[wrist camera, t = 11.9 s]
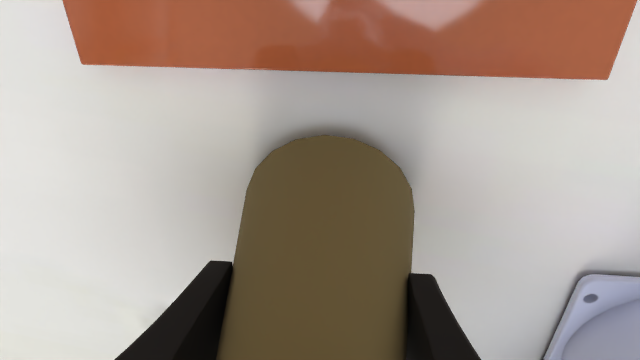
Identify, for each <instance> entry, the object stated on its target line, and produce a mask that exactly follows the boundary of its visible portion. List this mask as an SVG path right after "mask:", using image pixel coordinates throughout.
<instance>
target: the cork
mask: <svg viewBox="0 0 640 360" xmlns="http://www.w3.org/2000/svg"><path fill="white" fill-rule="evenodd" d="M414 212H415V211H414V203H413V195H412V189H411V187H410V185H409V183H408V182H407V180H406V178H405V176H404V174H403V173H402V171H401V169H400V167H398V166H397V165H396V164H395V163H394V162H393V161H392V160H390V159H389V158H388V157H387V156H386V155H385V154H384V153H382V152H381V151H380V150H378V149H376V148H374V147H371V146H369V145H367V144H365V143H362V142H360V141H358V140H355V139H352V138H345V137H337V136H329V135H321V136H314V137H308V138H302V139H296V140H294V141H292V142H290V143H288V144H286V145H284V146H282V147H280V148H278V149H276V150H274V151H272V152H271V153H270V154H269V155H268V156H267V157H266V158H265V159H264V160H263V161H262V162H261V163H260V164H259V165H258V166H257V168H256V169H255V171H254V173H253V176H252V178H251V180H250V183H249V185H248V188H247V191H246V196H245V202H244V207H243V213H242V218H241V224H240V229H239V235H238V240H237V246H236V251H235V257H234V263H233V271H232V275H231V279H230V285H229V290H228V296H227V301H226V307H225V312H224V318H223V323H222V329H221V334H220V340H219V345H218V351H217V356H216V360H406V353H407V336H408V275H409V273H411V265H412V247H413V230H414Z"/></svg>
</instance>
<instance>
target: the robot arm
mask: <svg viewBox="0 0 640 360" xmlns="http://www.w3.org/2000/svg"><path fill="white" fill-rule="evenodd" d="M232 271H233V266H232V262H226V261H210V262H209V263H207V265H206V266H205V267H204V268H203V269H202V270H201V272H200V273H199V274H198V275H197V276H196V277H195V279H194V280H193V281H192V282H191V283H190V284H189V285H188V287H187V288H186V289H185V290H184V291H183V292H182V293H181V294H180V295H179V297H178V298H177V299H176V300H175V301H174V302H173V303H172V304H171V305H170V306H169V307H168V308H167V309H166V310H165V312H164V313H163V314H162V315H161V316H160V317H159V318H158V319H157V320H156V321H155V322H154V323H153V324H152V325H151V326H150V327H149V328H148V329H147V330H146V331H145V332H144V333H143V334H142V335H141V336H140V337H139V338H137V339H136V340H135V341H134V342H133V343H132V344H131V345H130V346H129V347H128V348H127V349H126V350H125V351H124V352H122V353H121V354H120V355H119V356H118V357H117V358H116V359H115V360H216V356H217V351H218V345H219V340H220V334H221V329H222V323H223V318H224V312H225V307H226V301H227V296H228V290H229V285H230V279H231V275H232ZM589 294H590V295H589ZM586 295H587V296H586ZM406 360H481V359H480V357H479V356H478V354H477V353H476V351H475V350H474V348H473V347H472V345H471V343H470V342H469V340H468V338H467V337H466V335H465V334H464V332H463V330H462V329H461V327H460V325H459V324H458V322H457V320H456V318H455V317H454V315H453V313H452V311H451V309H450V308H449V306H448V304H447V302H446V300H445V298H444V296H443V294H442V292H441V290H440V288H439V286H438V284H437V282H436V280H435V278H434V277H433V276H432V275H431V274H417V273H409V275H408V336H407V353H406ZM543 360H640V277H632V276H616V275H600V274H591V275H587V276H584V277H583V278H581V279H580V280H579V282H578V283H577V286H576V288H575V290H574V292H573V294H572V297H571V299H570V301H569V303H568V306H567V308H566V310H565V312H564V315H563V317H562V319H561V321H560V323H559V326H558V328H557V330H556V332H555V335H554V337H553V339H552V341H551V343H550V346H549V348H548V350H547V352H546V355H545V357H544V359H543Z"/></svg>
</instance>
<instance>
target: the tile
mask: <svg viewBox="0 0 640 360" xmlns="http://www.w3.org/2000/svg"><path fill="white" fill-rule="evenodd" d="M62 1H63V4H64V7H65V11H66V14H67V17H68V21H69V24H70V28H71V31H72V34H73V38H74V41H75V44H76V48H77V51H78V54H79V58H80V61H81V63H82V64H83V65H113V66H147V67H181V68H215V69H249V70H283V71H317V72H351V73H385V74H419V75H452V76H486V77H520V78H554V79H588V80H607V79H608V78H609V75H610V72H611V70H612V67H613V64H614V62H615V59H616V56H617V54H618V51H619V48H620V45H621V43H622V40H623V37H624V35H625V32H626V29H627V27H628V24H629V21H630V18H631V16H632V13H633V10H634V8H635V5H636V2H637V0H62Z"/></svg>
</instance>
